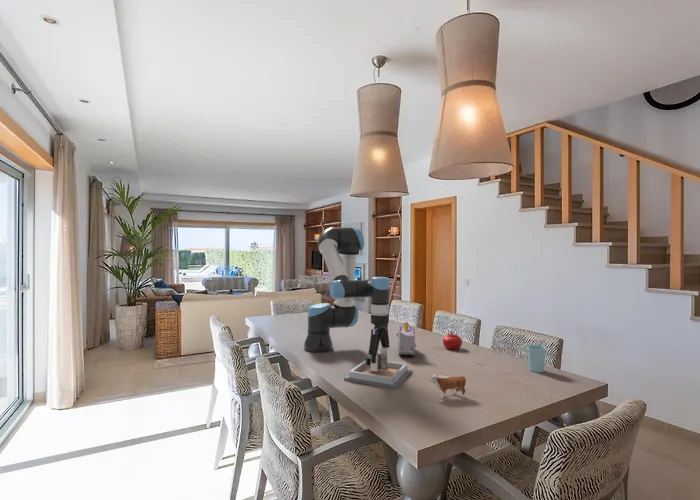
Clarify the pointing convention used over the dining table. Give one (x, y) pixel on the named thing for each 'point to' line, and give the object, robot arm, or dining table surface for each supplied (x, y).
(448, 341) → the pomegranate
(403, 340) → the toy vehicle
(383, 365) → the caster wheel
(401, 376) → the tray
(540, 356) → the cup
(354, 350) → the dining table surface
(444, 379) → the bull figurine
